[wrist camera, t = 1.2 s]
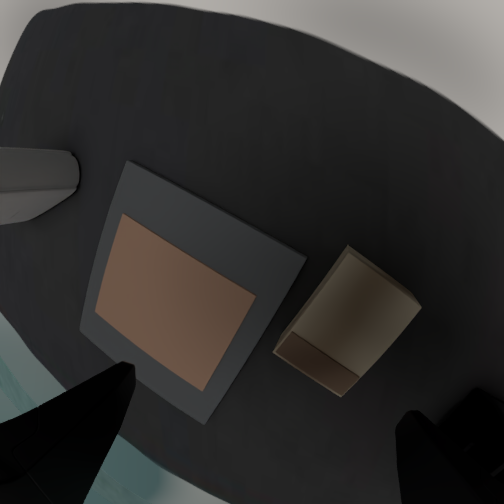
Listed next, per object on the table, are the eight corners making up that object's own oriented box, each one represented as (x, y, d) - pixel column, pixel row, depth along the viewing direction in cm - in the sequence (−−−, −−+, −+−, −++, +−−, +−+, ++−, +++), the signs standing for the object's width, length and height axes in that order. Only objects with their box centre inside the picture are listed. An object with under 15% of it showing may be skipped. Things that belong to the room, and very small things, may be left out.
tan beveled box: (410, 291, 17) (422, 308, 14) (342, 371, 19) (340, 398, 16) (347, 244, 18) (348, 253, 15) (282, 331, 20) (271, 353, 17)
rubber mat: (307, 256, 18) (306, 259, 17) (207, 420, 22) (203, 426, 22) (132, 160, 20) (125, 159, 20) (83, 327, 25) (77, 330, 24)
